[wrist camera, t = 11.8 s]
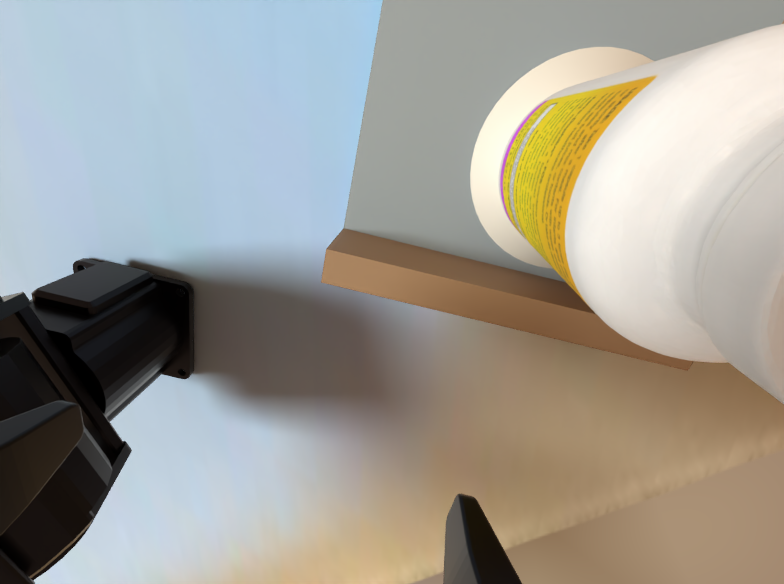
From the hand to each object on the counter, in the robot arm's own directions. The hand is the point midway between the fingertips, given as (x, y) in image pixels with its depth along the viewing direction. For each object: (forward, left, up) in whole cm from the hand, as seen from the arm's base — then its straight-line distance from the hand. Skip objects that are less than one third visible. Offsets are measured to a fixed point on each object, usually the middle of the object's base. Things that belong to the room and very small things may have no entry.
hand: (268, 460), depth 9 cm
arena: (+8, -7, -12) cm, 16 cm away
